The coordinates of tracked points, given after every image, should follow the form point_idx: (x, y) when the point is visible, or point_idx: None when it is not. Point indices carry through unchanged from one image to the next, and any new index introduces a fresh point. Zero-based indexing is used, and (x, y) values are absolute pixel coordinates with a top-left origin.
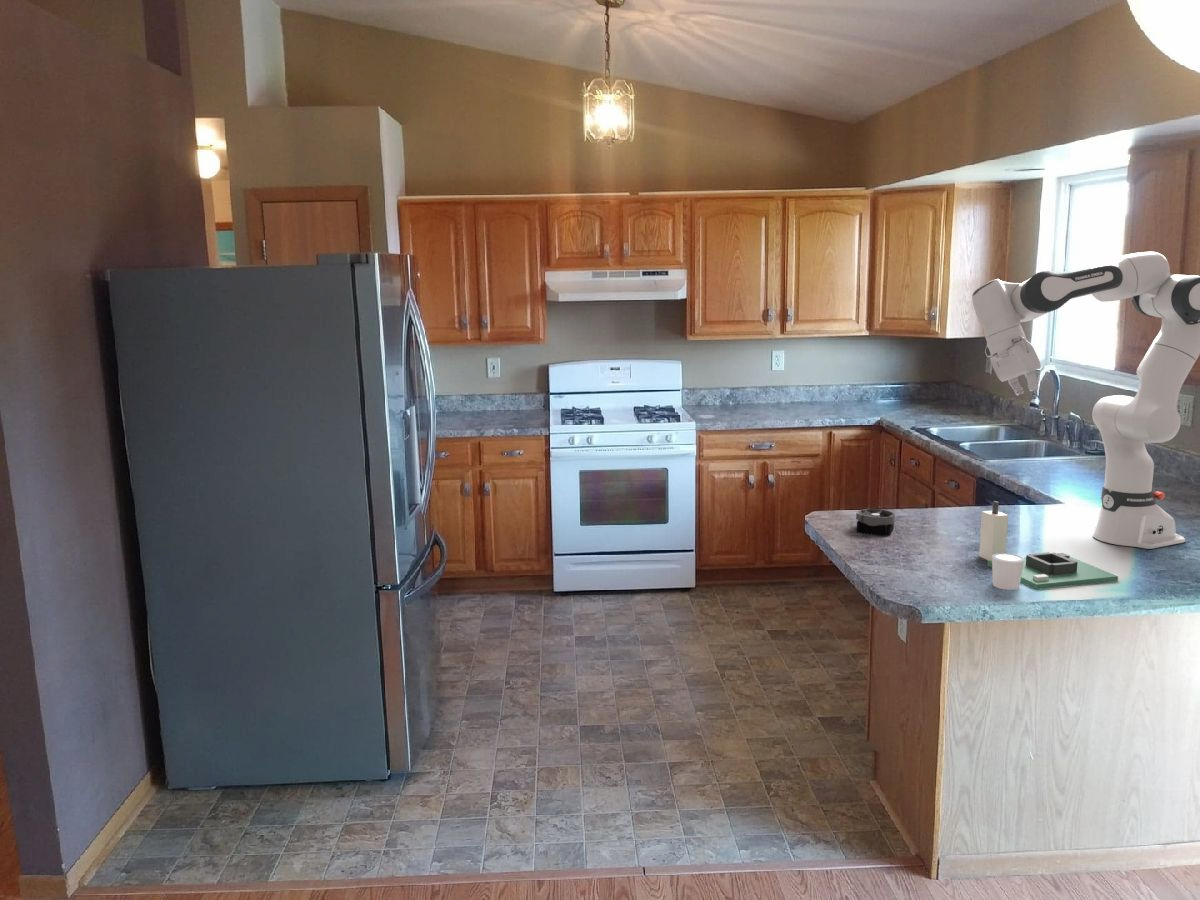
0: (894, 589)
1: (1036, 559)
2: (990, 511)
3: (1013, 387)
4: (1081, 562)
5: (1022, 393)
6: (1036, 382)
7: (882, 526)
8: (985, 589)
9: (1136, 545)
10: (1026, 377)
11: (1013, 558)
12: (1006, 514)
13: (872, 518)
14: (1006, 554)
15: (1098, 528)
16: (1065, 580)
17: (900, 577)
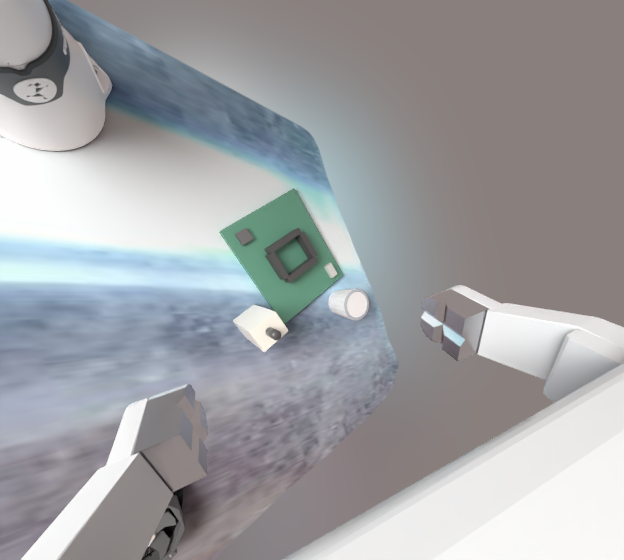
0: (373, 392)
1: (303, 272)
2: (260, 339)
3: (156, 523)
4: (253, 216)
5: (192, 392)
6: (497, 302)
7: (180, 499)
8: None
9: (104, 98)
10: (560, 388)
11: (357, 299)
12: (272, 314)
13: (184, 526)
14: (347, 306)
15: (47, 136)
16: (324, 246)
17: (345, 398)
